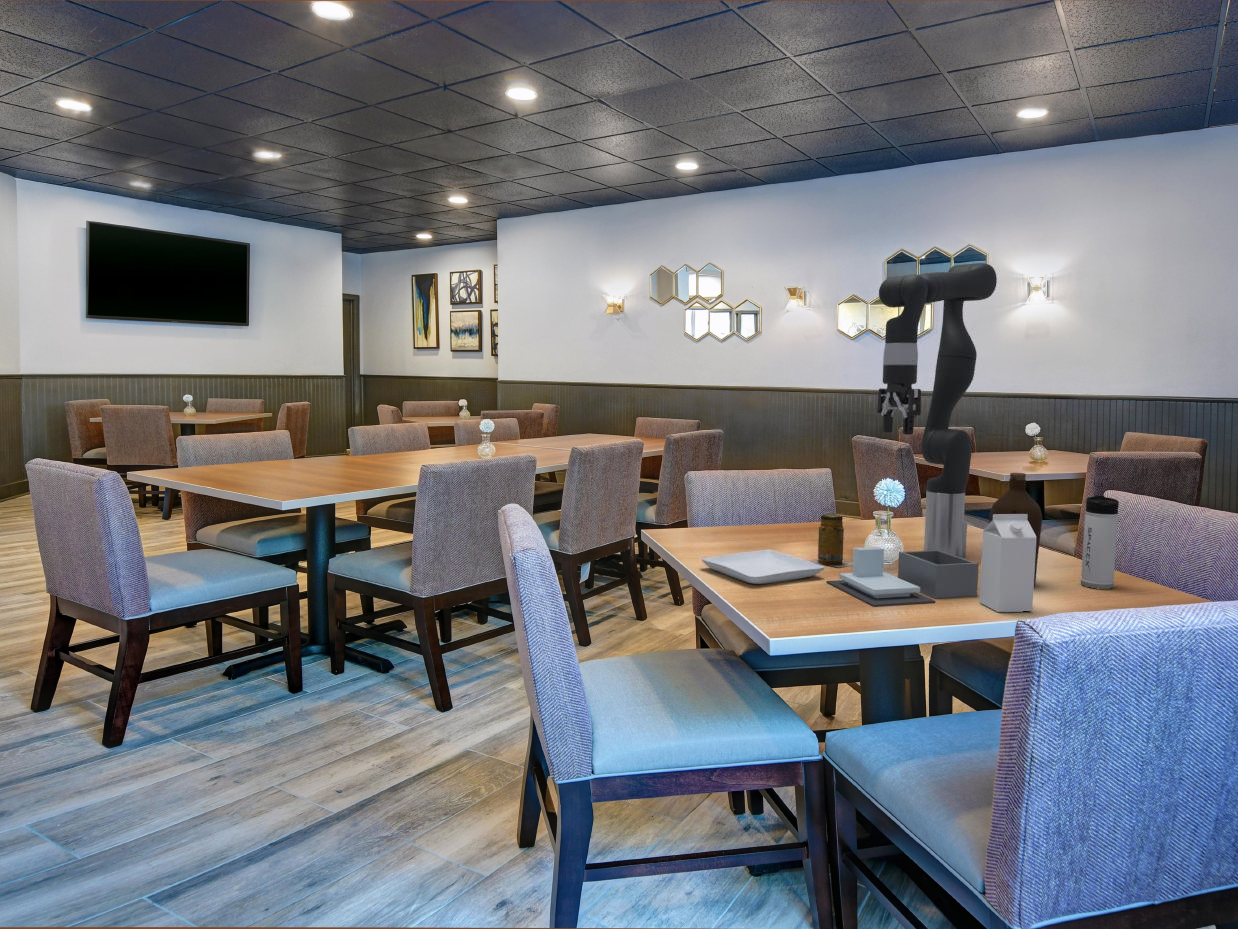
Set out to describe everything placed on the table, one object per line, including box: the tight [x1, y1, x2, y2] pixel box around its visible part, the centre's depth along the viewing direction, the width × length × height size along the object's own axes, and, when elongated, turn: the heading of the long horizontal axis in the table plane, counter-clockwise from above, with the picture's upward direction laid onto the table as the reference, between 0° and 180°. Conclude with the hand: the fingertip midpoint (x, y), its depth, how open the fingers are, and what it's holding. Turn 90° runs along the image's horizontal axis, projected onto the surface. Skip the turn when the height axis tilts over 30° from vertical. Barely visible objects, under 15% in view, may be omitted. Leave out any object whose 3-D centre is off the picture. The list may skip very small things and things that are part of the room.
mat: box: [826, 579, 936, 608], centre depth 174 cm, size 14×20×1 cm
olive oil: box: [988, 472, 1043, 587], centre depth 182 cm, size 11×11×25 cm
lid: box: [838, 546, 921, 598], centre depth 174 cm, size 15×11×8 cm
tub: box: [897, 550, 980, 600], centre depth 177 cm, size 14×10×7 cm
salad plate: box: [700, 549, 826, 585], centre depth 191 cm, size 21×21×3 cm
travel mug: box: [1080, 495, 1120, 590], centre depth 180 cm, size 6×7×20 cm
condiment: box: [810, 513, 853, 568], centre depth 202 cm, size 7×8×12 cm
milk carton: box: [978, 514, 1036, 613], centre depth 162 cm, size 7×7×19 cm
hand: (897, 433), depth 189 cm, fingers open, 8 cm apart
